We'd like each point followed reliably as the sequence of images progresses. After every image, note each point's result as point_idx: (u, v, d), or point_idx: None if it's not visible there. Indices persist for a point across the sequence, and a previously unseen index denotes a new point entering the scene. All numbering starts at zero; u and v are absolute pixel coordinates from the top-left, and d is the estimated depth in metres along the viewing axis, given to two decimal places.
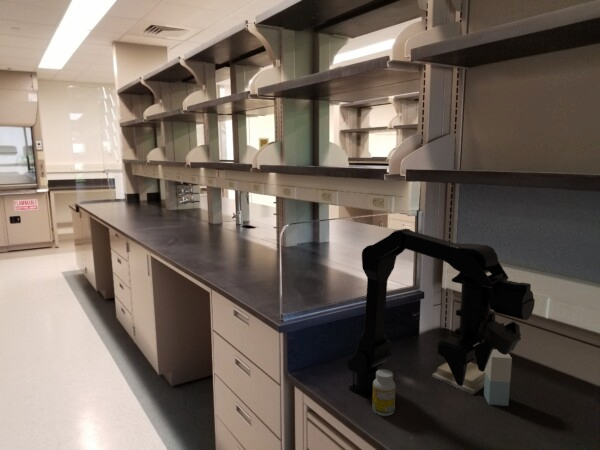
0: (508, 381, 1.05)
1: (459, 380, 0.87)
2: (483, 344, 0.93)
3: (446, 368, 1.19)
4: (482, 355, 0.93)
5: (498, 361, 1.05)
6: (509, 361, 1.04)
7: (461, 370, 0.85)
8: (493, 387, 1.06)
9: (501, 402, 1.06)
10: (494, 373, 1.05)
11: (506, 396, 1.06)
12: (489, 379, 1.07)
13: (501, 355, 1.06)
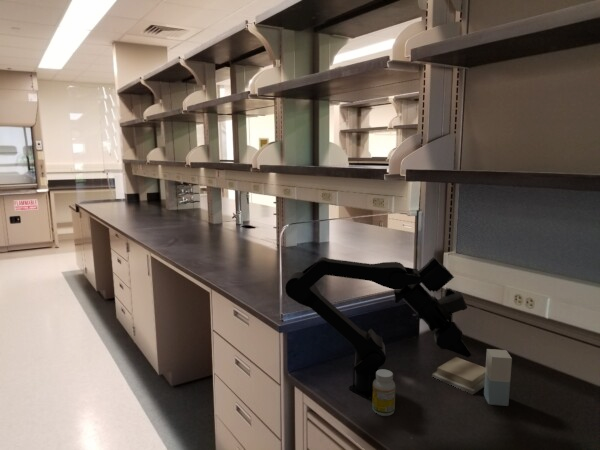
0: (508, 381, 1.05)
1: (467, 352, 1.03)
2: None
3: (446, 368, 1.19)
4: None
5: (498, 361, 1.05)
6: (509, 361, 1.04)
7: (462, 344, 1.02)
8: (493, 387, 1.06)
9: (501, 402, 1.06)
10: (494, 373, 1.05)
11: (506, 396, 1.06)
12: (489, 379, 1.07)
13: (501, 355, 1.06)
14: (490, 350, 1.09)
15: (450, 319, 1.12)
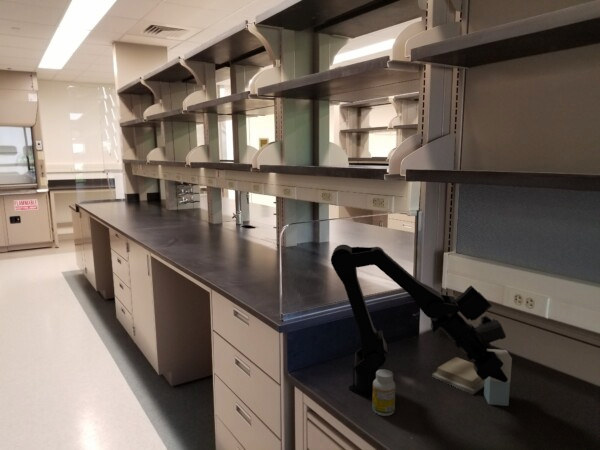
0: (508, 381, 1.05)
1: (504, 378, 1.04)
2: None
3: (446, 368, 1.19)
4: None
5: None
6: (509, 361, 1.04)
7: (499, 369, 1.04)
8: (493, 387, 1.06)
9: (502, 402, 1.06)
10: None
11: (506, 396, 1.06)
12: (489, 379, 1.07)
13: (501, 355, 1.06)
14: (490, 350, 1.09)
15: None
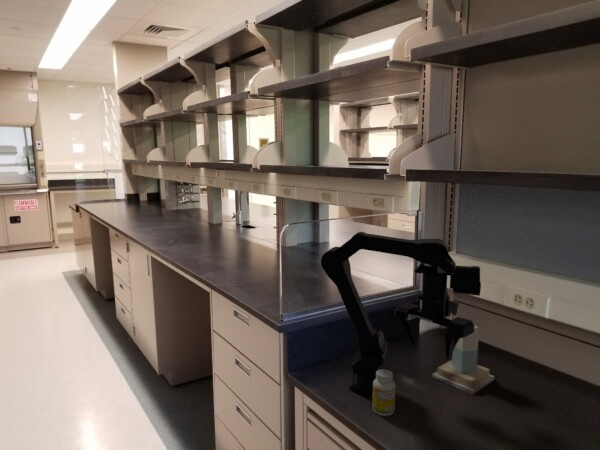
0: (476, 349, 1.16)
1: (451, 353, 1.03)
2: (414, 323, 1.09)
3: (446, 368, 1.19)
4: (415, 333, 1.09)
5: None
6: (477, 331, 1.15)
7: (456, 343, 1.02)
8: (464, 357, 1.16)
9: (471, 369, 1.17)
10: (465, 344, 1.15)
11: (475, 363, 1.17)
12: (460, 350, 1.16)
13: None
14: None
15: (418, 321, 1.10)
